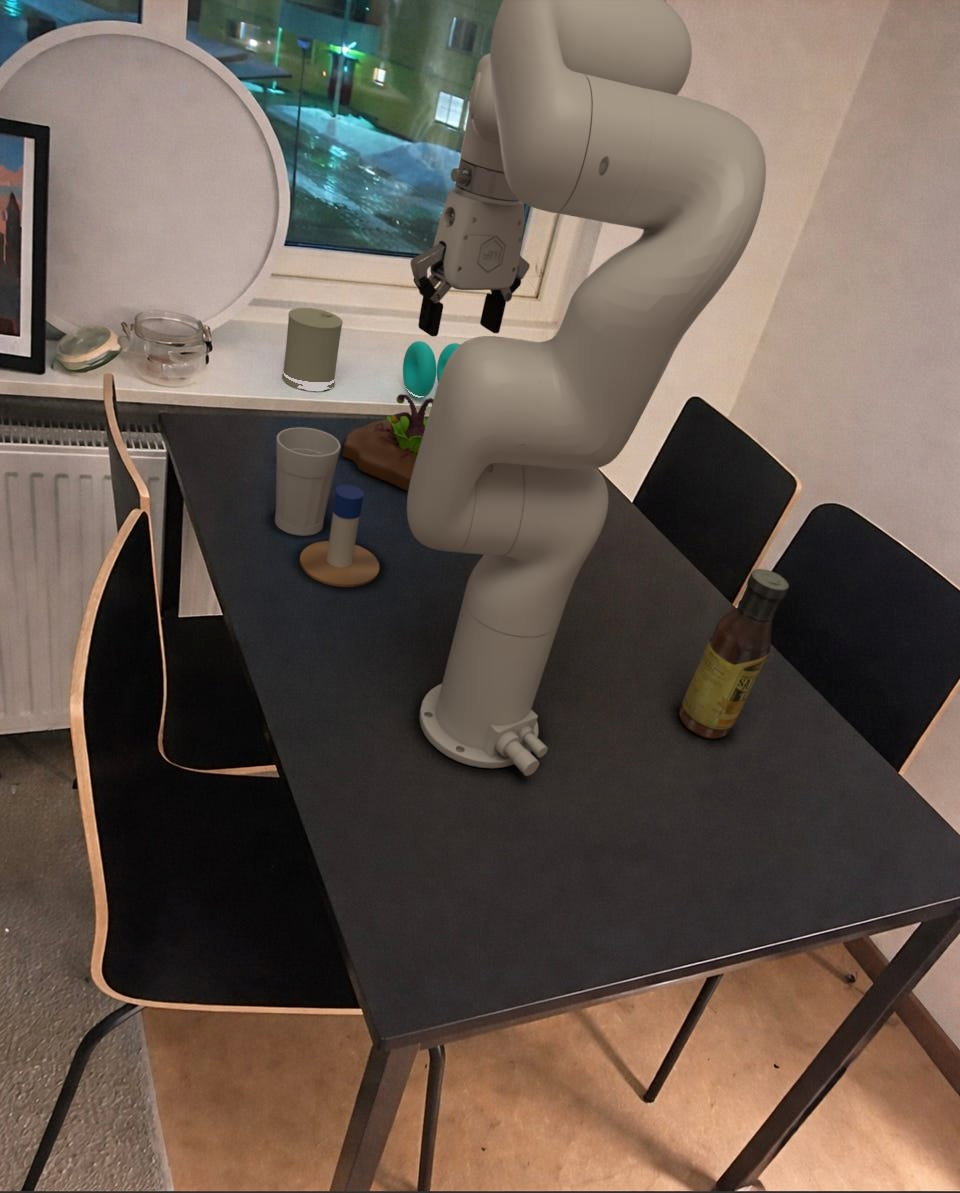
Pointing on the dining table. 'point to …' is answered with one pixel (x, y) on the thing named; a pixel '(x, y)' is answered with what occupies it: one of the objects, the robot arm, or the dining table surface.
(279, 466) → the cup
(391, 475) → the plant
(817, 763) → the dining table surface
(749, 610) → the sauce bottle
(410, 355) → the teal oval lobes
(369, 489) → the dining table surface
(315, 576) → the coaster
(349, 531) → the marker
